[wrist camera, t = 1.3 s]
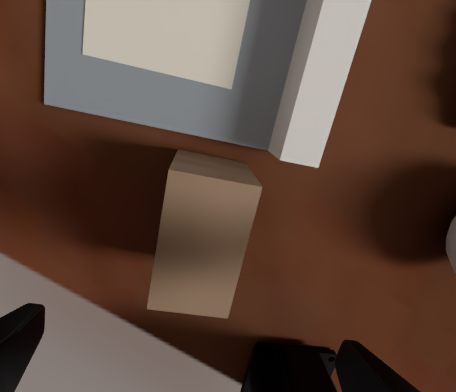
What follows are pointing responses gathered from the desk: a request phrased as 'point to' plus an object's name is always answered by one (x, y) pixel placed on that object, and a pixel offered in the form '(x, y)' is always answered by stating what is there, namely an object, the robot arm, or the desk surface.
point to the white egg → (451, 244)
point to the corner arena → (207, 66)
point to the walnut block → (202, 234)
